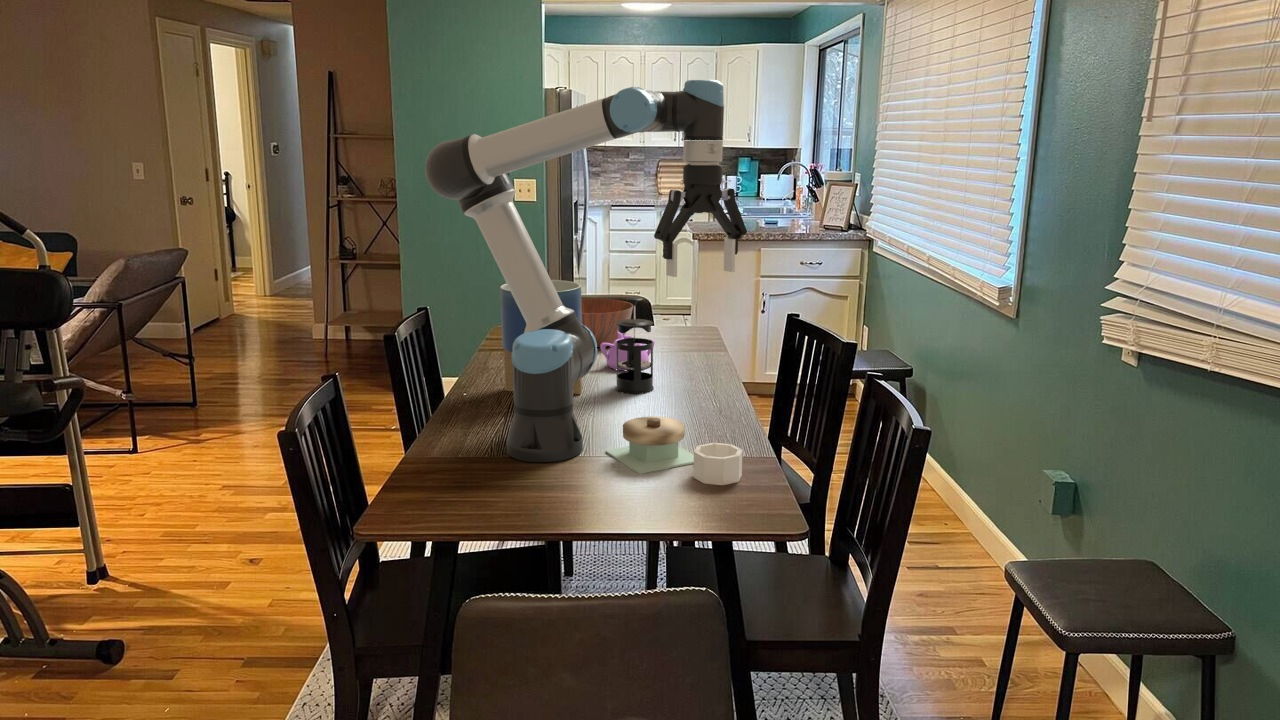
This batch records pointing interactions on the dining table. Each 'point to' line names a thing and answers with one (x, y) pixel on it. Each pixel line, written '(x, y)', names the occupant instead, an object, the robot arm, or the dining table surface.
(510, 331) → the planter
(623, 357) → the teapot
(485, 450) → the dining table surface
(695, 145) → the robot arm
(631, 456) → the mat stand
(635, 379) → the french press
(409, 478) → the dining table surface
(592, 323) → the bowl
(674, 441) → the lid
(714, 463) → the ramekin
